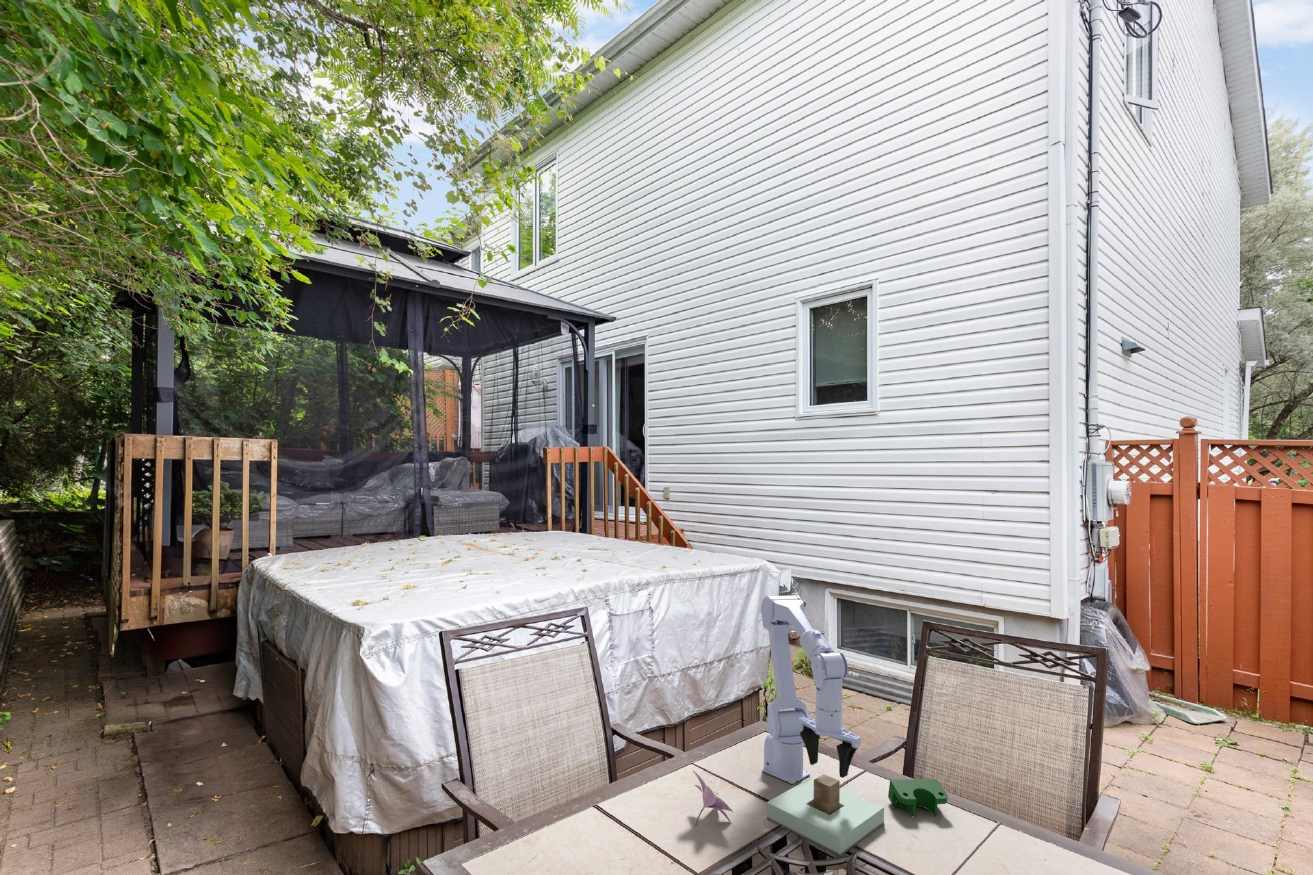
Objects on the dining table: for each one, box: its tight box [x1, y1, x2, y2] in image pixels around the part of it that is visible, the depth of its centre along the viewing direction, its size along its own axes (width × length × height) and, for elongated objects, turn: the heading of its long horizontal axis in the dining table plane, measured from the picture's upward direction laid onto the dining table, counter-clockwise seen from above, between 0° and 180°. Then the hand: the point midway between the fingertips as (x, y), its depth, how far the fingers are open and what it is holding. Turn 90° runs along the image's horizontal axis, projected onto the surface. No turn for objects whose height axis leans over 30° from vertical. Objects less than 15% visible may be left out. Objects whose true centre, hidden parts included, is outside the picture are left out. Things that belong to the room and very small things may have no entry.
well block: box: [765, 776, 885, 857], centre depth 135 cm, size 18×18×4 cm
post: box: [814, 773, 841, 815], centre depth 136 cm, size 4×4×8 cm
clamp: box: [887, 778, 949, 817], centre depth 141 cm, size 12×6×9 cm, turn 90°
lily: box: [692, 769, 734, 827], centre depth 134 cm, size 12×12×10 cm
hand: (828, 769), depth 138 cm, fingers open, 7 cm apart
